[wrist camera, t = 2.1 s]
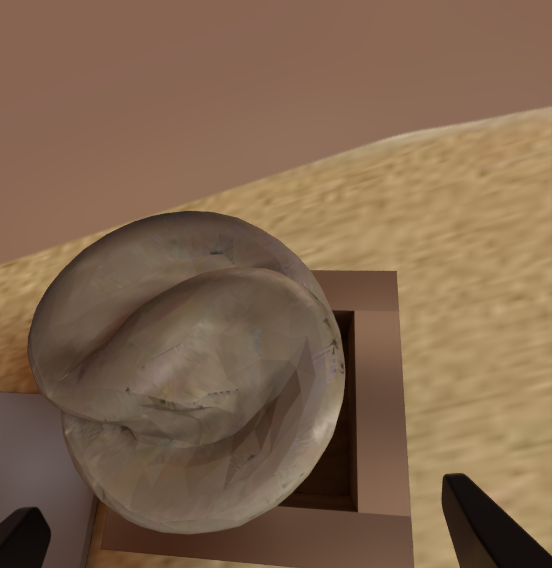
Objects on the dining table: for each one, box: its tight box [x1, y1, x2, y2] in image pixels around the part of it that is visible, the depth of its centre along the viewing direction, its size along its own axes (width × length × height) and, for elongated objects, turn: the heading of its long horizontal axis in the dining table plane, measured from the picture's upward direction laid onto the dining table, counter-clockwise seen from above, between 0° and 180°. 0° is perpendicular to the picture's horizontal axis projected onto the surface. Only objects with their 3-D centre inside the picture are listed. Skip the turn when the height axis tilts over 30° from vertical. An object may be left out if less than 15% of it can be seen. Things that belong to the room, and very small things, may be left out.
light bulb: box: [27, 211, 345, 534], centre depth 12 cm, size 6×6×15 cm
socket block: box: [101, 270, 414, 568], centre depth 18 cm, size 11×11×4 cm
